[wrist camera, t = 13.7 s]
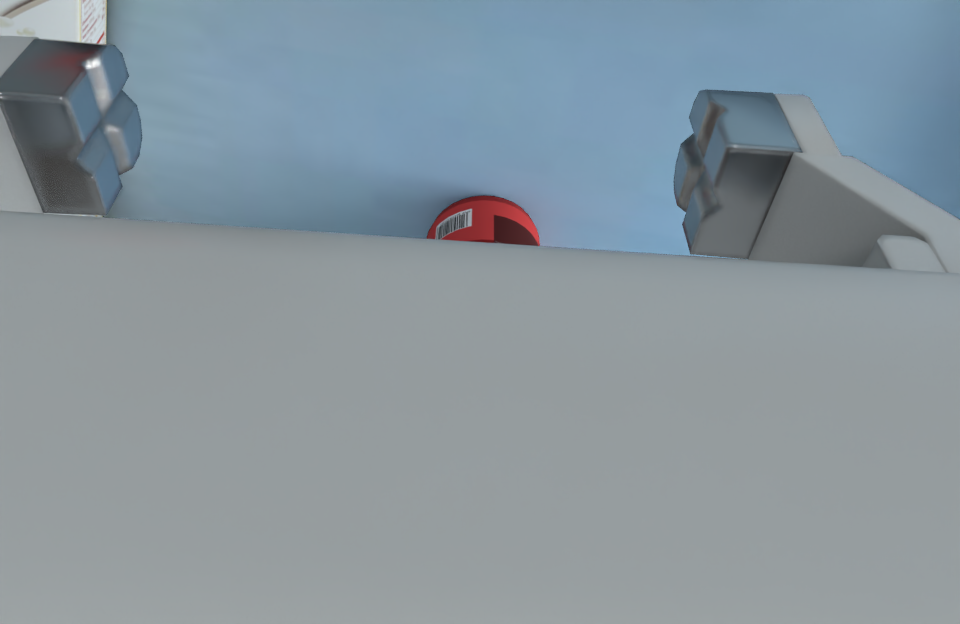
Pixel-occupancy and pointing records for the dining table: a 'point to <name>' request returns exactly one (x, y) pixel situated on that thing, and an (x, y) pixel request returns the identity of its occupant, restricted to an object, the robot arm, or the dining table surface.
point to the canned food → (485, 222)
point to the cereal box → (55, 22)
